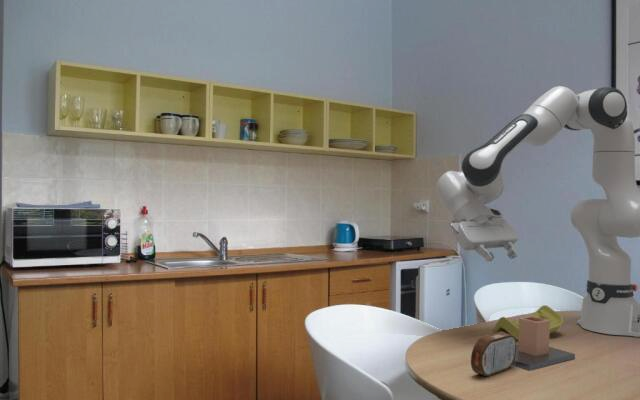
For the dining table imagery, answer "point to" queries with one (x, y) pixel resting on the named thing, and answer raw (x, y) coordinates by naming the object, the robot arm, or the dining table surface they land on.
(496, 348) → the tin
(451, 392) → the dining table surface
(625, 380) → the dining table surface
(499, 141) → the robot arm
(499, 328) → the plastic component
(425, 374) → the dining table surface
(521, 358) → the base
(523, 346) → the sleeve
